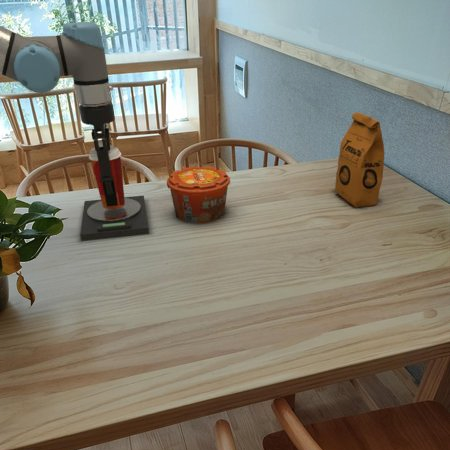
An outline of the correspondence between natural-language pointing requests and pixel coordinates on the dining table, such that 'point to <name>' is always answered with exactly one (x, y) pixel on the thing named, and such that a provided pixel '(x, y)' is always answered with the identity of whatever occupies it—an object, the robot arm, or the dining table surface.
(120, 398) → the dining table surface
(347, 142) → the coffee package
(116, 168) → the paper cup
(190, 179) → the food container
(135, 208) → the scale
